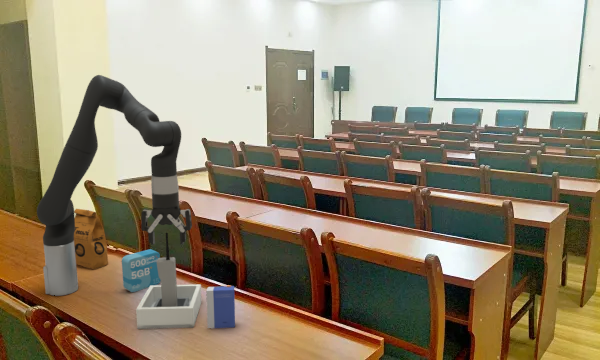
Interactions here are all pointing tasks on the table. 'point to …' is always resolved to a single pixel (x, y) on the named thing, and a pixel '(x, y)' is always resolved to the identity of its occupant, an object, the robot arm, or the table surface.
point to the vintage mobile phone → (168, 279)
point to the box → (169, 308)
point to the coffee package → (89, 240)
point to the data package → (140, 270)
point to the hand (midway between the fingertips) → (167, 243)
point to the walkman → (220, 307)
